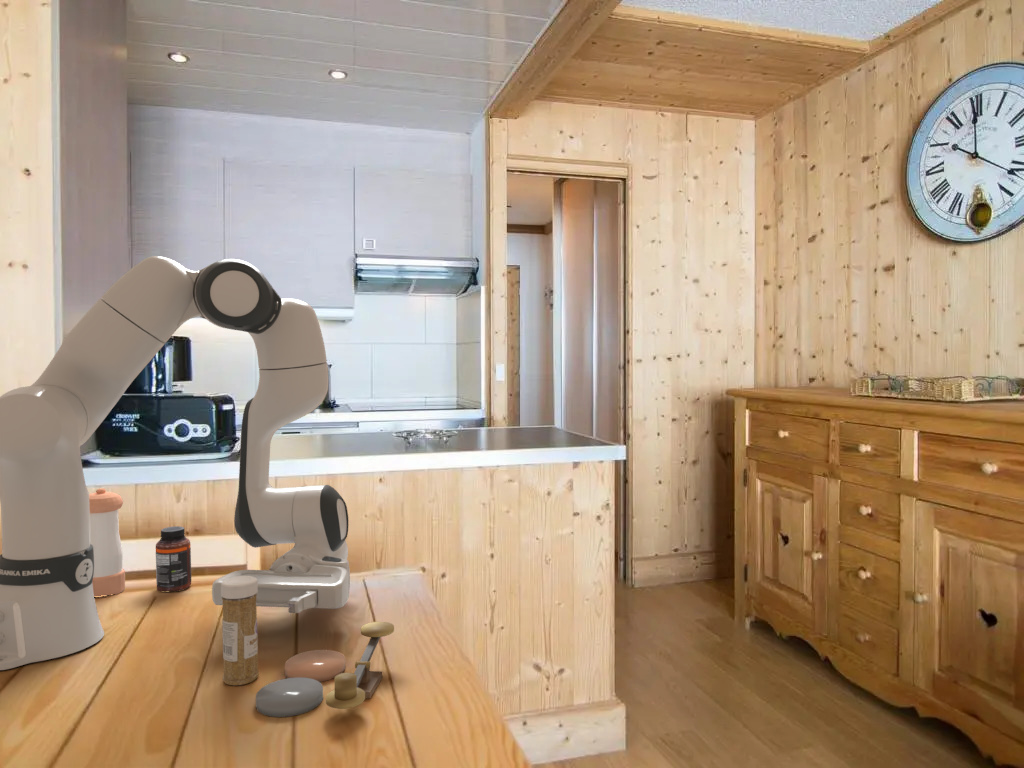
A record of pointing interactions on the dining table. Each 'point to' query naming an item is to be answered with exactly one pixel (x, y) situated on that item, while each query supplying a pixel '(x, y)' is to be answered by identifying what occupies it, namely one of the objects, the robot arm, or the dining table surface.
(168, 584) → the supplement bottle
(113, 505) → the pepper shaker
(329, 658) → the peach oval pebble
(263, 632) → the dining table surface
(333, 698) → the balance
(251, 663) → the spice jar
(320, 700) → the grey oval pebble
